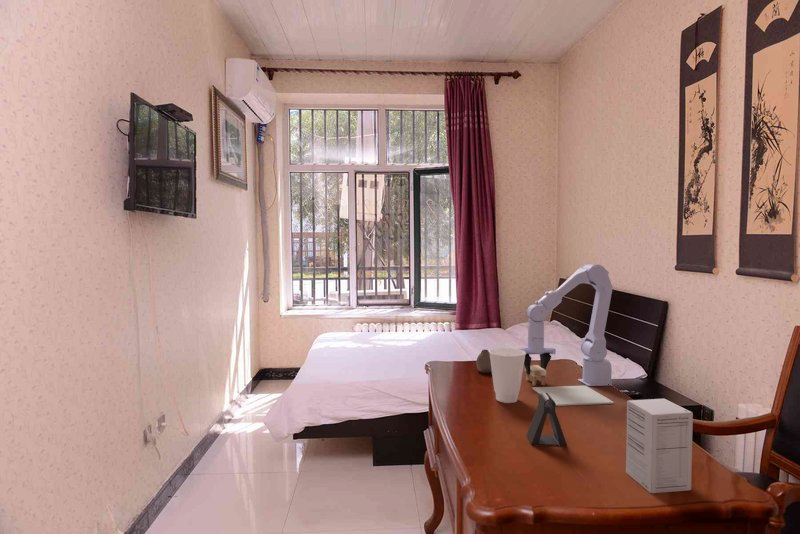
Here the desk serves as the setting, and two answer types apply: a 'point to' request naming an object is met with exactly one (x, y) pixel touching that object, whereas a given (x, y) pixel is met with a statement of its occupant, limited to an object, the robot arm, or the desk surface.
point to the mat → (573, 395)
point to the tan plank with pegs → (536, 374)
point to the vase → (484, 362)
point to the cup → (507, 373)
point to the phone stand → (539, 419)
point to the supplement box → (659, 445)
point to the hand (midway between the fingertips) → (535, 373)
